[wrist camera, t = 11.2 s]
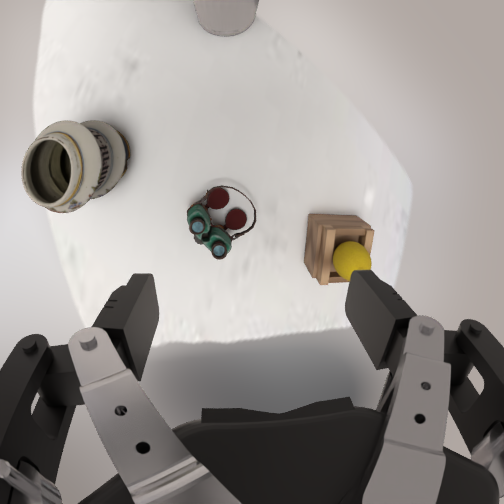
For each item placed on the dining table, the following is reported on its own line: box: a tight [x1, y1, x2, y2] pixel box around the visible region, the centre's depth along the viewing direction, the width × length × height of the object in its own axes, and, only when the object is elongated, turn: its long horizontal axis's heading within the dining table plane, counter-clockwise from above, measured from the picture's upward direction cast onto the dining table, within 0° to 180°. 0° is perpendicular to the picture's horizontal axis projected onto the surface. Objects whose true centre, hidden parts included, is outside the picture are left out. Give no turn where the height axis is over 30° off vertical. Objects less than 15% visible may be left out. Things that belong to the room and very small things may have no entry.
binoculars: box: [187, 186, 256, 259], centre depth 42 cm, size 9×11×10 cm
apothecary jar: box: [22, 120, 130, 213], centre depth 32 cm, size 12×12×18 cm
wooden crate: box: [304, 214, 374, 285], centre depth 46 cm, size 9×9×8 cm
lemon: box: [333, 241, 371, 281], centre depth 40 cm, size 6×6×8 cm
